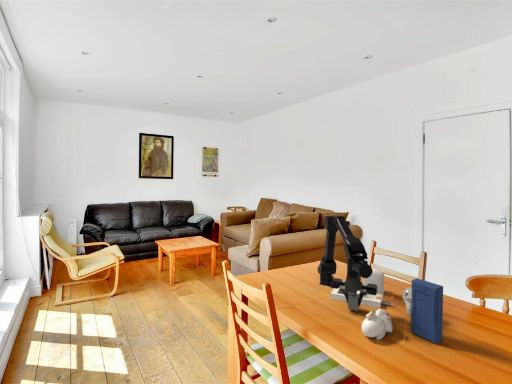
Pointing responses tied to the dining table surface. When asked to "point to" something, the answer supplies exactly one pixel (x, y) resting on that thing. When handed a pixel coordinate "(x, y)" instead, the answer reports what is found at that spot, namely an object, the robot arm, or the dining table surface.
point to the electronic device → (427, 310)
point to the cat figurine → (377, 324)
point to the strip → (366, 300)
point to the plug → (353, 301)
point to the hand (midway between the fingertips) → (353, 305)
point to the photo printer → (376, 280)
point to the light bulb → (407, 299)
